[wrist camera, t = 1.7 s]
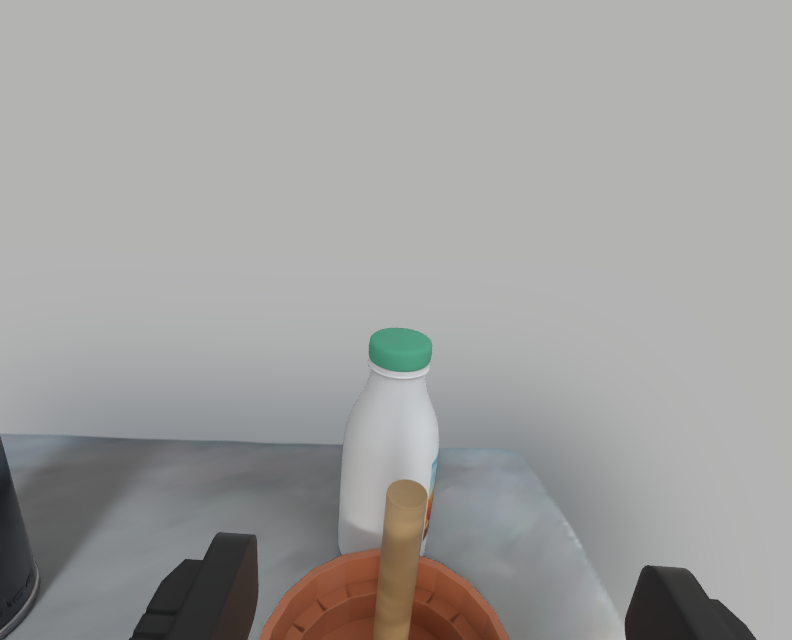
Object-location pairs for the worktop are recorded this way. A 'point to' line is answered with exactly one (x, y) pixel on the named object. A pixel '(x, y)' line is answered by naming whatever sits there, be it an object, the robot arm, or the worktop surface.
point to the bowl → (356, 601)
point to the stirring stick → (399, 559)
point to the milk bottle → (387, 437)
